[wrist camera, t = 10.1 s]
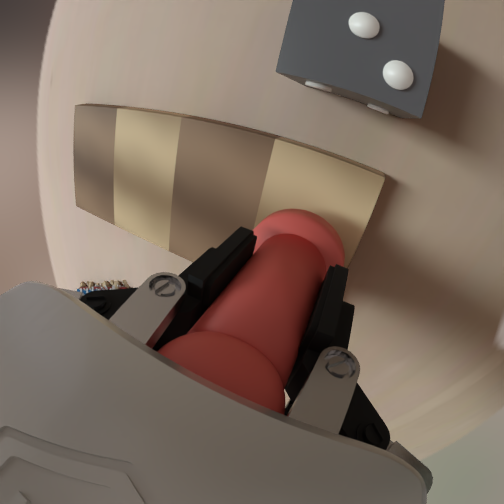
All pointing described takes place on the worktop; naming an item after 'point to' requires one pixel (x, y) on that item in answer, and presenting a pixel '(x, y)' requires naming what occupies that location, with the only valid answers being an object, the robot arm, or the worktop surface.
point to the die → (365, 50)
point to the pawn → (263, 310)
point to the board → (209, 178)
